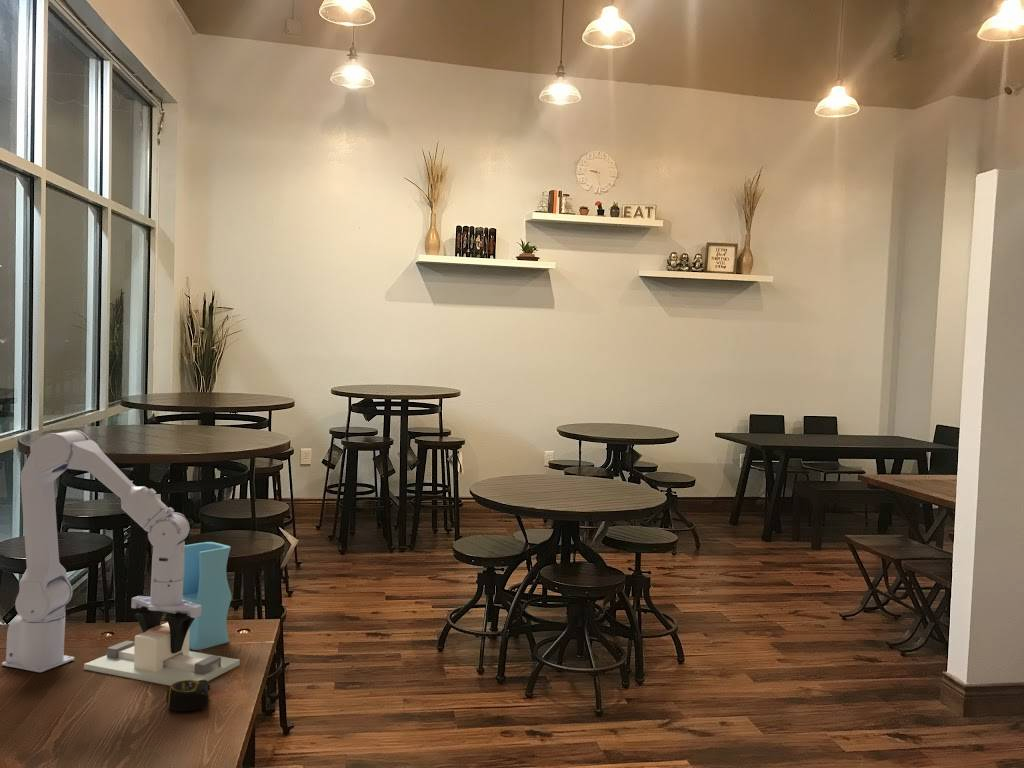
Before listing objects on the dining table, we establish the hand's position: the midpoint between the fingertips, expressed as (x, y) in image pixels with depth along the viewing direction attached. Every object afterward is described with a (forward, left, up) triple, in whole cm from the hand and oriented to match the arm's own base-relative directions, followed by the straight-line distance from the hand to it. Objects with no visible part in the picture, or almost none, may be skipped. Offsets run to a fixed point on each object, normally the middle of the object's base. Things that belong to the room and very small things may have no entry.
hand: (164, 649), depth 158 cm
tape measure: (+17, -13, -4) cm, 21 cm away
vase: (-3, +15, -3) cm, 16 cm away
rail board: (0, 0, -3) cm, 3 cm away
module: (0, 0, -2) cm, 2 cm away
